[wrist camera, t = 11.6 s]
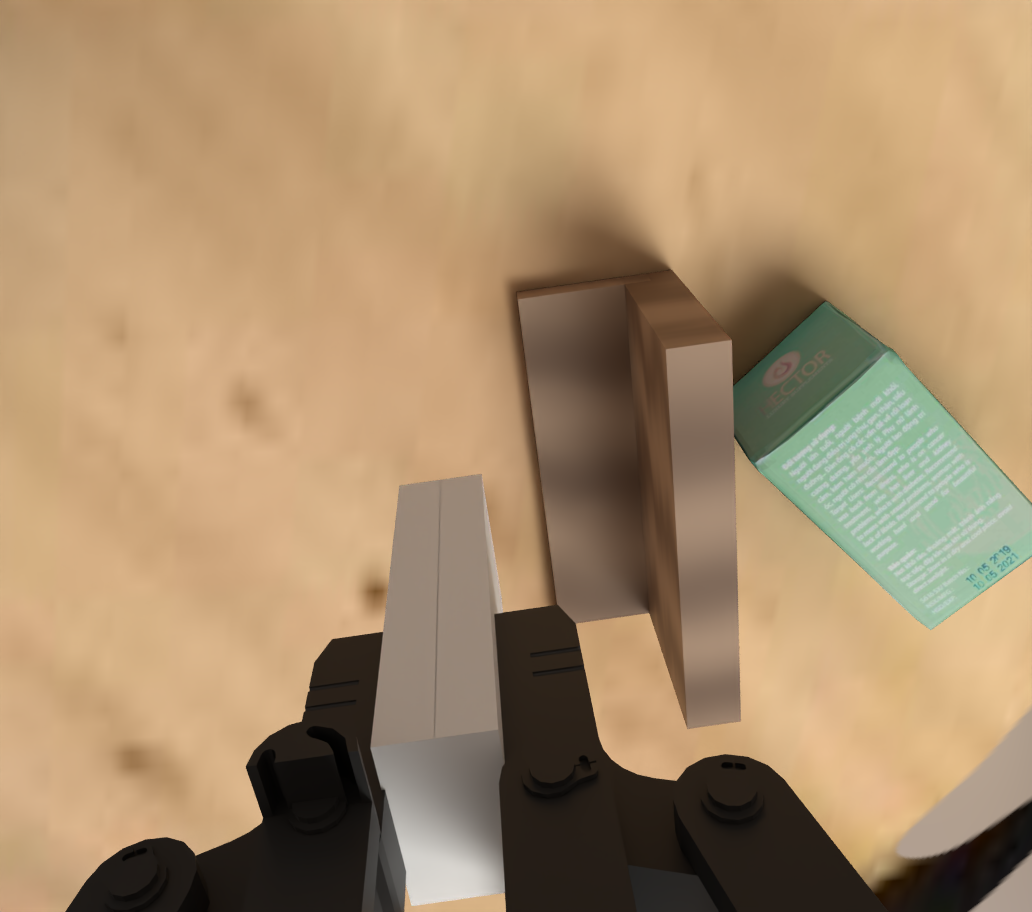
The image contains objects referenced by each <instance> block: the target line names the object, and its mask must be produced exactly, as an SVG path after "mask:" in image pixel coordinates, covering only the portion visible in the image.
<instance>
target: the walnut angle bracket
mask: <svg viewBox="0 0 1032 912" xmlns="http://www.w3.org/2000/svg"><path fill="white" fill-rule="evenodd" d="M516 294H517V302H518V309H519V317H520V325H521V333H522V340H523V348H524V356H525V363H526V371H527V379H528V387H529V394H530V402H531V410H532V417H533V425H534V433H535V441H536V448H537V456H538V464H539V472H540V479H541V487H542V495H543V502H544V510H545V518H546V526H547V533H548V541H549V549H550V556H551V564H552V572H553V580H554V587H555V595H556V603H557V605H559V606H560V607H561V609H562V610H563V611H564V612H565V613H566V614H567V615H568V616H569V617H570V618H571V619H572V620H573V621H574V622H575V623H582V622H589V621H596V620H603V619H610V618H617V617H624V616H631V615H638V614H645V613H650V616H651V619H652V622H653V626H654V629H655V632H656V635H657V638H658V641H659V644H660V647H661V650H662V653H663V656H664V659H665V662H666V665H667V668H668V671H669V674H670V677H671V680H672V683H673V686H674V689H675V692H676V695H677V698H678V701H679V705H680V708H681V711H682V714H683V717H684V720H685V723H686V726H687V729H690V728H697V727H704V726H712V725H719V724H726V723H733V722H740V721H741V710H740V667H739V625H738V582H737V540H736V498H735V455H734V413H733V371H732V340H731V338H730V337H729V336H728V335H727V334H726V333H725V331H724V330H723V329H722V328H721V327H720V326H719V324H718V323H717V322H716V321H715V320H714V319H713V317H712V316H711V315H710V314H709V313H708V312H707V310H706V309H705V308H704V307H703V306H702V305H701V303H700V302H699V301H698V300H697V299H696V298H695V296H694V295H693V294H692V293H691V292H690V291H689V289H688V288H687V287H686V286H685V285H684V284H683V282H682V281H681V280H680V279H679V278H678V277H677V275H676V274H675V273H674V272H673V271H672V270H668V271H661V272H654V273H647V274H640V275H633V276H626V277H619V278H612V279H604V280H597V281H590V282H583V283H576V284H569V285H562V286H555V287H548V288H541V289H534V290H527V291H520V292H516Z"/></svg>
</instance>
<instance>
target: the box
mask: <svg viewBox="0 0 1032 912" xmlns="http://www.w3.org/2000/svg"><path fill="white" fill-rule="evenodd" d="M733 413H734V437H735V439H736V440H737V442H738V444H739V445H740V447H741V448H742V450H743V451H744V453H745V454H746V456H747V457H748V459H749V460H750V462H751V463H752V464H753V465H754V466H755V468H756V469H757V470H758V471H759V472H760V473H761V474H762V475H764V476H765V477H766V478H767V479H768V480H769V481H770V482H771V483H772V484H773V485H774V486H775V487H776V488H777V489H779V490H780V491H781V492H782V493H783V494H784V495H785V496H786V497H787V498H788V499H789V500H790V501H791V502H792V503H793V504H794V505H796V506H797V507H798V508H799V509H800V510H801V511H802V512H803V513H804V514H805V515H806V516H807V517H808V518H809V519H810V520H811V521H812V522H814V523H815V524H816V525H817V526H818V527H819V528H820V529H821V530H822V531H823V532H824V533H825V534H826V535H827V536H828V537H830V538H831V539H832V540H833V541H834V542H835V543H836V544H837V545H838V546H839V547H840V548H841V549H842V550H843V551H844V552H846V553H847V554H848V555H849V556H850V557H851V558H852V559H853V560H854V561H855V562H856V563H857V564H858V565H859V566H860V567H862V568H863V569H864V570H865V571H866V572H867V573H868V574H869V575H870V576H871V577H872V578H873V579H874V580H875V581H876V582H877V583H878V584H879V585H880V586H881V587H882V588H884V589H885V590H886V591H887V592H888V593H889V594H890V595H891V596H892V597H893V598H894V599H895V600H896V601H897V602H898V603H899V604H900V605H901V606H902V607H904V608H905V609H906V610H907V611H908V612H909V613H910V614H911V615H912V616H913V617H914V618H915V619H916V620H918V621H919V622H920V623H922V624H923V625H925V626H926V627H927V628H929V629H930V630H932V629H933V628H934V627H936V626H937V625H938V624H940V623H941V622H943V621H944V620H945V619H947V618H948V617H949V616H951V615H952V614H954V613H955V612H956V611H958V610H959V609H960V608H962V607H963V606H965V605H966V604H967V603H969V602H970V601H971V600H973V599H974V598H976V597H977V596H978V595H980V594H981V593H982V592H984V591H985V590H987V589H988V588H989V587H991V586H992V585H993V584H995V583H996V582H998V581H999V580H1000V579H1002V578H1003V577H1004V576H1006V575H1007V574H1009V573H1010V572H1011V571H1013V570H1014V569H1015V568H1017V567H1018V566H1020V565H1021V564H1022V563H1024V562H1025V561H1026V560H1028V559H1029V558H1031V557H1032V503H1031V502H1030V501H1029V500H1028V499H1027V497H1026V496H1025V495H1024V494H1023V493H1022V492H1021V491H1020V490H1019V489H1018V488H1017V486H1016V485H1015V484H1014V483H1013V482H1012V481H1011V480H1010V479H1009V478H1008V477H1007V476H1006V474H1005V473H1004V472H1003V471H1002V470H1001V469H1000V468H999V467H998V466H997V465H996V464H995V462H994V461H993V460H992V459H991V458H990V457H989V456H988V455H987V454H986V453H985V452H984V450H983V449H982V448H981V447H980V446H979V445H978V444H977V443H976V442H975V441H974V440H973V438H972V437H971V436H970V435H969V434H968V433H967V432H966V431H965V430H964V429H963V428H962V426H961V425H960V424H959V423H958V422H957V421H956V420H955V419H954V418H953V417H952V416H951V414H950V413H949V412H948V411H947V410H946V409H945V408H944V407H943V406H942V405H941V404H940V402H939V401H938V400H937V399H936V398H935V397H934V396H933V395H932V394H931V393H930V392H929V390H928V389H927V388H926V387H925V386H924V385H923V384H922V383H921V382H920V381H919V380H918V379H917V377H916V376H915V375H914V374H913V373H912V372H911V371H910V370H909V369H908V368H907V367H906V365H905V364H904V363H903V361H902V360H901V359H900V357H899V356H898V355H897V353H896V352H895V351H894V350H893V349H891V348H889V347H887V346H885V345H884V344H883V343H881V342H880V341H879V340H878V339H876V338H875V337H873V336H872V335H871V334H869V333H868V332H867V331H865V330H864V329H863V328H861V327H860V326H859V325H858V324H856V323H855V322H854V321H853V320H852V319H851V318H849V317H848V316H847V315H846V314H844V313H843V312H842V311H840V310H839V309H837V308H836V307H834V306H833V305H832V304H831V303H829V302H827V301H825V302H824V303H823V304H822V305H820V306H819V307H818V308H817V309H816V310H815V311H814V312H813V313H812V314H811V315H810V316H809V317H808V318H807V319H805V320H804V321H803V322H802V323H801V324H800V325H799V326H798V327H797V328H796V329H795V330H794V331H792V332H791V333H790V334H789V335H788V336H787V337H786V338H785V339H784V340H783V341H782V342H781V343H780V344H779V345H778V346H777V347H775V348H774V349H773V350H772V351H771V352H770V353H769V354H768V355H767V356H766V357H765V358H764V359H763V360H761V361H760V362H759V363H758V364H757V365H756V366H755V367H754V368H753V369H752V370H751V371H749V372H748V373H747V374H746V375H745V376H744V377H743V378H742V379H741V380H739V381H738V382H737V383H736V384H735V385H734V386H733Z"/></svg>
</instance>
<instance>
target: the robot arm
mask: <svg viewBox="0 0 1032 912" xmlns="http://www.w3.org/2000/svg"><path fill="white" fill-rule="evenodd" d="M309 688H310V692H308V695H307V700H306V705H305V710H306V711H305V712H304V714H303V719H302V722H299V723H295V724H291V725H288V726H286V727H285V728H283V729H281V730H279V731H277V732H276V733H274V734H272V735H270V736H269V737H268V738H267V739H266V740H265V741H264V742H263V743H262V744H260V745H259V746H258V747H257V748H256V749H255V750H254V752H253V754H252V756H251V758H250V760H249V762H248V763H247V765H246V769H247V772H248V775H249V778H250V781H251V784H252V787H253V790H254V792H255V795H256V798H257V801H258V804H259V807H260V810H261V813H262V816H263V821H262V823H261V824H260V825H259V826H257V827H256V828H254V829H253V830H252V831H250V832H249V833H247V834H245V835H243V836H241V837H239V838H237V839H235V840H233V841H231V842H228V843H226V844H223V845H221V846H218V847H216V848H214V849H211V850H209V851H206V852H204V853H201V854H199V855H196V856H195V854H194V852H193V851H192V850H191V849H190V848H189V847H188V846H187V845H186V844H185V843H184V842H182V841H178V840H175V839H171V838H167V837H165V838H156V839H147V840H143V841H141V842H138V843H136V844H133V845H131V846H128V847H126V848H123V849H122V850H120V851H119V852H117V853H116V854H115V855H113V856H112V857H110V858H109V859H107V860H106V861H105V862H103V863H102V864H101V865H100V866H99V867H98V868H97V870H96V871H95V872H94V873H93V874H92V875H91V876H90V877H89V878H88V880H87V881H86V882H85V883H84V885H83V886H82V888H81V889H80V891H79V892H78V894H77V895H76V897H75V898H74V900H73V901H72V903H71V904H70V906H69V907H68V909H67V910H66V912H404V904H405V885H406V886H407V890H408V894H409V898H410V902H411V905H412V906H416V905H423V904H430V903H437V902H444V901H451V900H458V899H465V898H472V897H479V896H486V895H493V894H500V893H505V900H506V912H888V911H887V910H886V908H885V907H884V906H883V904H882V903H881V902H880V901H879V899H878V898H877V897H876V896H875V894H874V893H873V892H872V890H871V889H870V888H869V887H868V885H867V884H866V883H865V882H864V880H863V879H862V878H861V877H860V875H859V874H858V873H857V871H856V870H855V869H854V868H853V866H852V865H851V864H850V863H849V861H848V860H847V859H846V857H845V856H844V855H843V854H842V852H841V851H840V850H839V849H838V847H837V846H836V845H835V844H834V842H833V841H832V840H831V838H830V837H829V836H828V835H827V833H826V832H825V831H824V830H823V828H822V827H821V826H820V824H819V823H818V822H817V821H816V819H815V818H814V817H813V816H812V814H811V813H810V812H809V810H808V809H807V808H806V807H805V805H804V804H803V803H802V802H801V800H800V799H799V798H798V797H797V795H796V794H795V793H794V791H793V790H792V789H791V788H790V786H789V785H788V784H787V783H786V781H785V780H784V779H783V778H782V777H781V776H780V775H778V774H777V773H776V772H775V771H774V770H773V769H772V768H770V767H769V766H768V765H766V764H763V763H761V762H759V761H756V760H754V759H752V758H749V757H744V756H736V755H727V754H725V755H719V756H713V757H707V758H704V759H702V760H700V761H698V762H696V763H694V764H693V765H691V766H689V767H687V768H686V770H685V771H684V772H683V773H682V775H681V776H680V777H679V778H678V780H677V781H673V780H664V779H656V778H651V777H646V776H642V775H637V774H635V773H633V772H631V771H628V770H626V769H624V768H622V767H621V766H619V765H618V764H617V763H615V762H614V761H613V760H611V759H610V757H609V756H608V755H607V753H606V752H605V751H604V750H603V748H602V745H601V743H600V740H599V737H598V732H597V727H596V722H595V717H594V712H593V707H592V702H591V698H590V693H589V688H588V683H587V678H586V673H585V669H584V663H583V658H582V653H581V649H580V643H579V638H578V633H577V628H576V624H575V622H574V621H573V620H572V619H571V618H570V617H569V616H568V615H567V614H566V613H565V612H564V611H563V610H562V609H561V607H560V606H559V605H554V606H547V607H540V608H533V609H526V610H519V611H512V612H505V613H503V609H502V597H501V591H500V585H499V579H498V573H497V566H496V560H495V554H494V548H493V542H492V535H491V529H490V523H489V517H488V511H487V504H486V498H485V492H484V486H483V480H482V474H478V475H471V476H464V477H457V478H450V479H443V480H436V481H429V482H422V483H415V484H408V485H401V486H399V494H398V503H397V512H396V521H395V530H394V539H393V548H392V557H391V566H390V575H389V585H388V594H387V603H386V612H385V621H384V630H383V632H380V633H373V634H365V635H358V636H351V637H344V638H337V639H332V640H331V642H330V643H329V644H328V645H327V647H326V648H325V649H324V651H323V652H322V653H321V655H320V656H319V657H318V659H317V660H316V661H315V662H314V667H313V672H312V676H311V681H310V686H309Z"/></svg>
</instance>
